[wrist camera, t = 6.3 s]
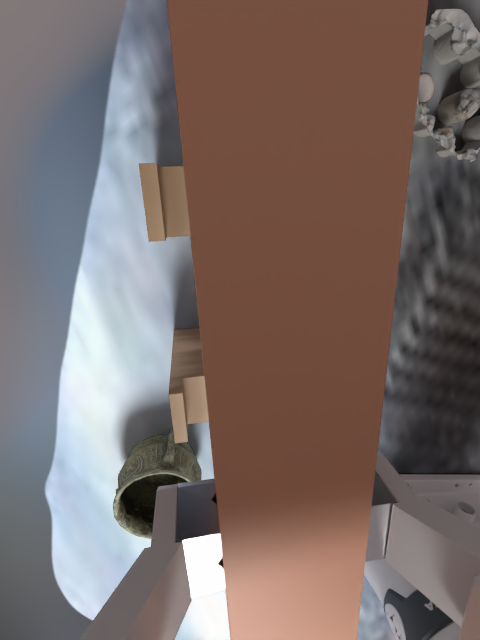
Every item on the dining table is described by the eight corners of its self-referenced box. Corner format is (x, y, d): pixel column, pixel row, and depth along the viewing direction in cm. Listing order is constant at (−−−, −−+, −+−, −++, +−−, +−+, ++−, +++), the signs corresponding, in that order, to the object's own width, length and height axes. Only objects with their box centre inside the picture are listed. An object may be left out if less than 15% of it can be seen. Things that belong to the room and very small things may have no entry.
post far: (233, 324, 34) (257, 384, 23) (235, 359, 36) (258, 432, 24) (173, 329, 33) (168, 394, 22) (178, 365, 35) (175, 443, 24)
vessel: (188, 503, 41) (189, 553, 35) (114, 497, 39) (102, 549, 33) (212, 422, 38) (217, 462, 32) (132, 411, 36) (122, 452, 30)
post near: (225, 175, 29) (251, 160, 18) (228, 223, 31) (253, 235, 20) (156, 178, 29) (138, 163, 17) (162, 226, 30) (148, 241, 19)
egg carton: (366, 101, 30) (393, 86, 26) (420, 15, 28) (457, -15, 24) (446, 172, 33) (480, 168, 29) (498, 97, 31) (542, 83, 27)
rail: (332, -93, 6) (469, -365, 3) (307, 685, 14) (337, 806, 11) (156, -102, 5) (125, -423, 3) (236, 702, 14) (250, 831, 11)
